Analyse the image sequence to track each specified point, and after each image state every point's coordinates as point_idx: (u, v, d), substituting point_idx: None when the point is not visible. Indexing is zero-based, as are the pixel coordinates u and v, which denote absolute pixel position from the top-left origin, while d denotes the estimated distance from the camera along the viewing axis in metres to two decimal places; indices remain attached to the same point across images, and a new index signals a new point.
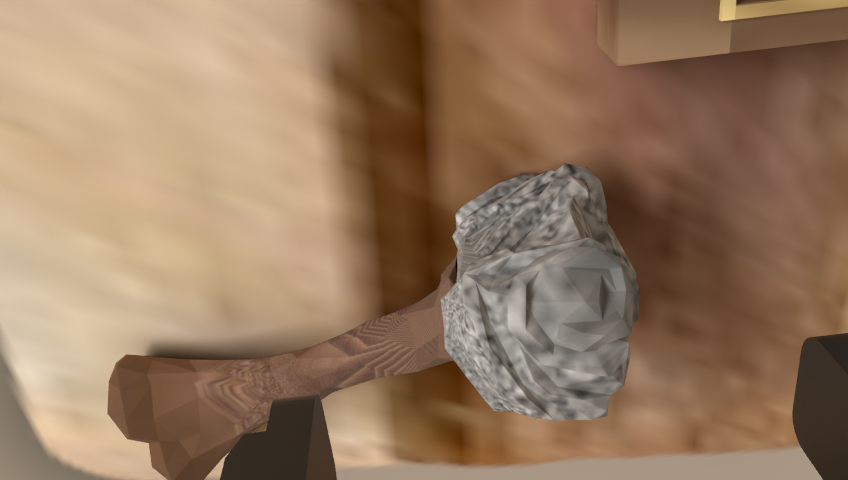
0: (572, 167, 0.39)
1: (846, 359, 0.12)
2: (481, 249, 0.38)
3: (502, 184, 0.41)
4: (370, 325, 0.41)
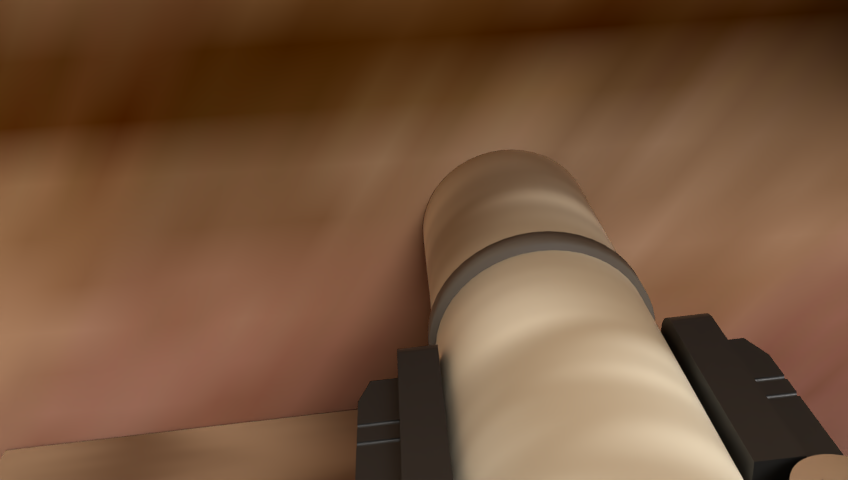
0: None
1: (691, 337, 0.12)
2: None
3: None
4: None
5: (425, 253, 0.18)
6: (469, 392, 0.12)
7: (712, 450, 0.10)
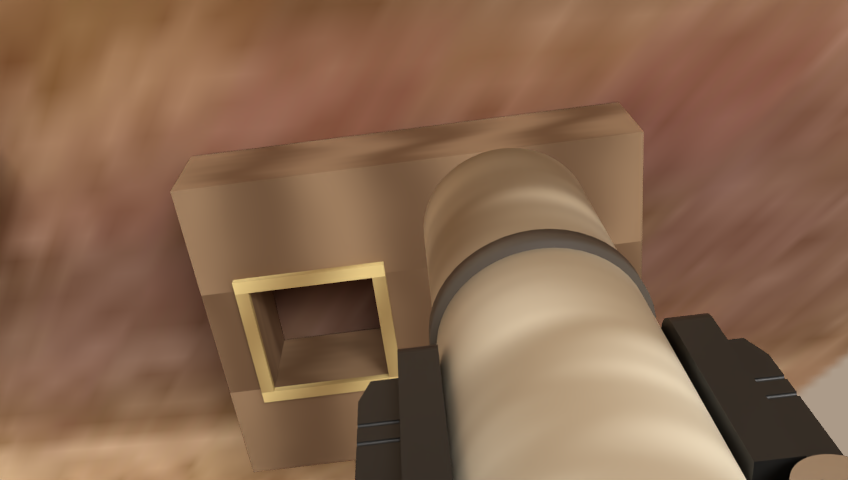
0: None
1: (691, 337, 0.12)
2: None
3: None
4: None
5: (426, 251, 0.18)
6: (470, 389, 0.12)
7: (713, 447, 0.10)
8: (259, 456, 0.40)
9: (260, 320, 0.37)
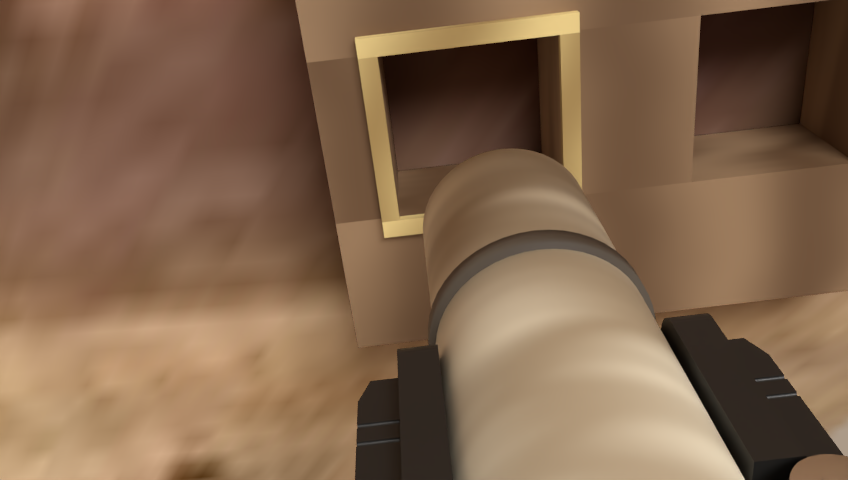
0: None
1: (691, 337, 0.12)
2: None
3: None
4: None
5: (425, 252, 0.18)
6: (469, 390, 0.12)
7: (713, 449, 0.10)
8: (368, 324, 0.29)
9: (385, 111, 0.25)
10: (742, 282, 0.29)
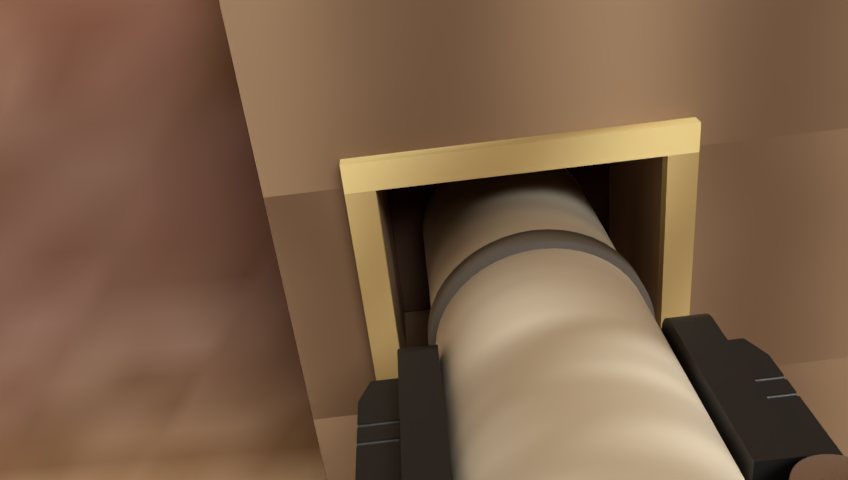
0: None
1: (690, 337, 0.12)
2: None
3: None
4: None
5: (425, 251, 0.18)
6: (469, 390, 0.12)
7: (712, 448, 0.10)
8: None
9: (388, 261, 0.17)
10: None
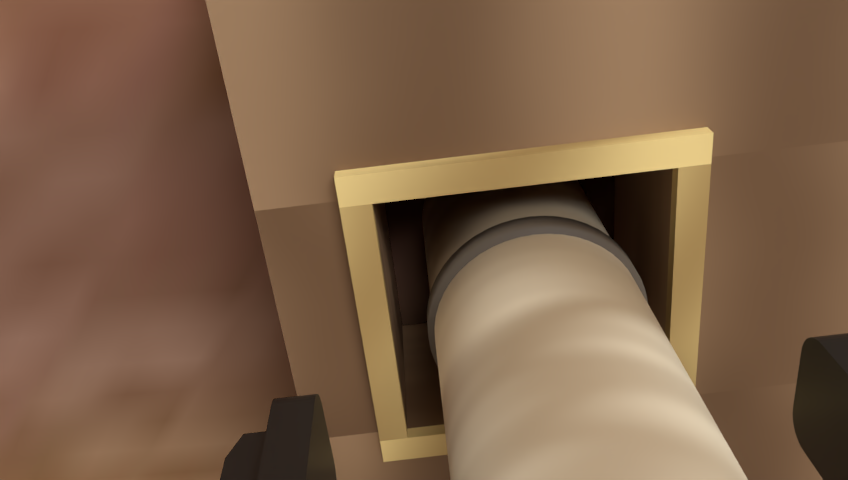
0: None
1: (846, 359, 0.12)
2: None
3: None
4: None
5: (424, 240, 0.18)
6: (466, 368, 0.12)
7: (700, 419, 0.10)
8: None
9: (385, 276, 0.16)
10: None
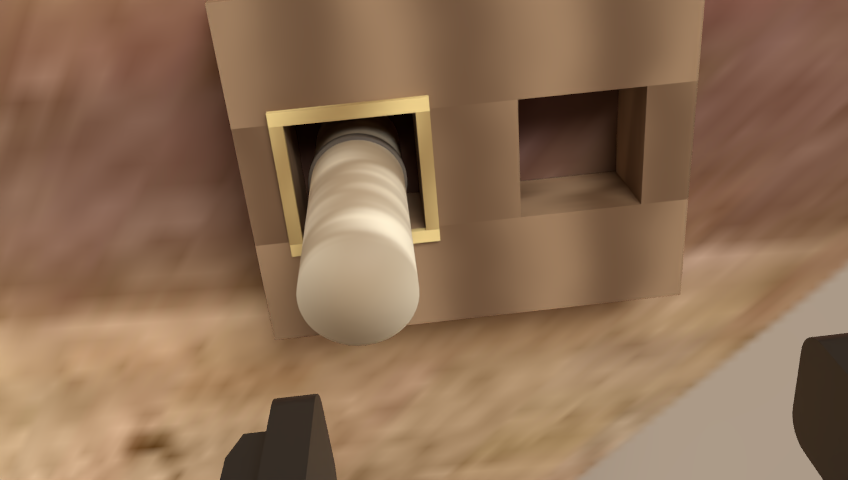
0: None
1: (846, 359, 0.12)
2: None
3: None
4: None
5: None
6: (314, 185, 0.31)
7: (389, 193, 0.29)
8: (282, 321, 0.37)
9: (291, 163, 0.34)
10: (566, 291, 0.38)
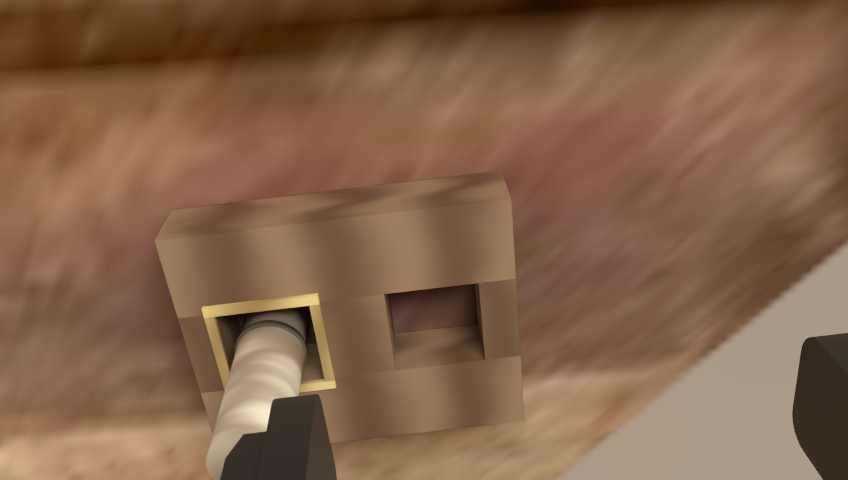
0: None
1: (846, 359, 0.12)
2: None
3: None
4: None
5: None
6: (232, 368, 0.43)
7: (278, 380, 0.42)
8: None
9: (224, 337, 0.47)
10: (436, 419, 0.50)
